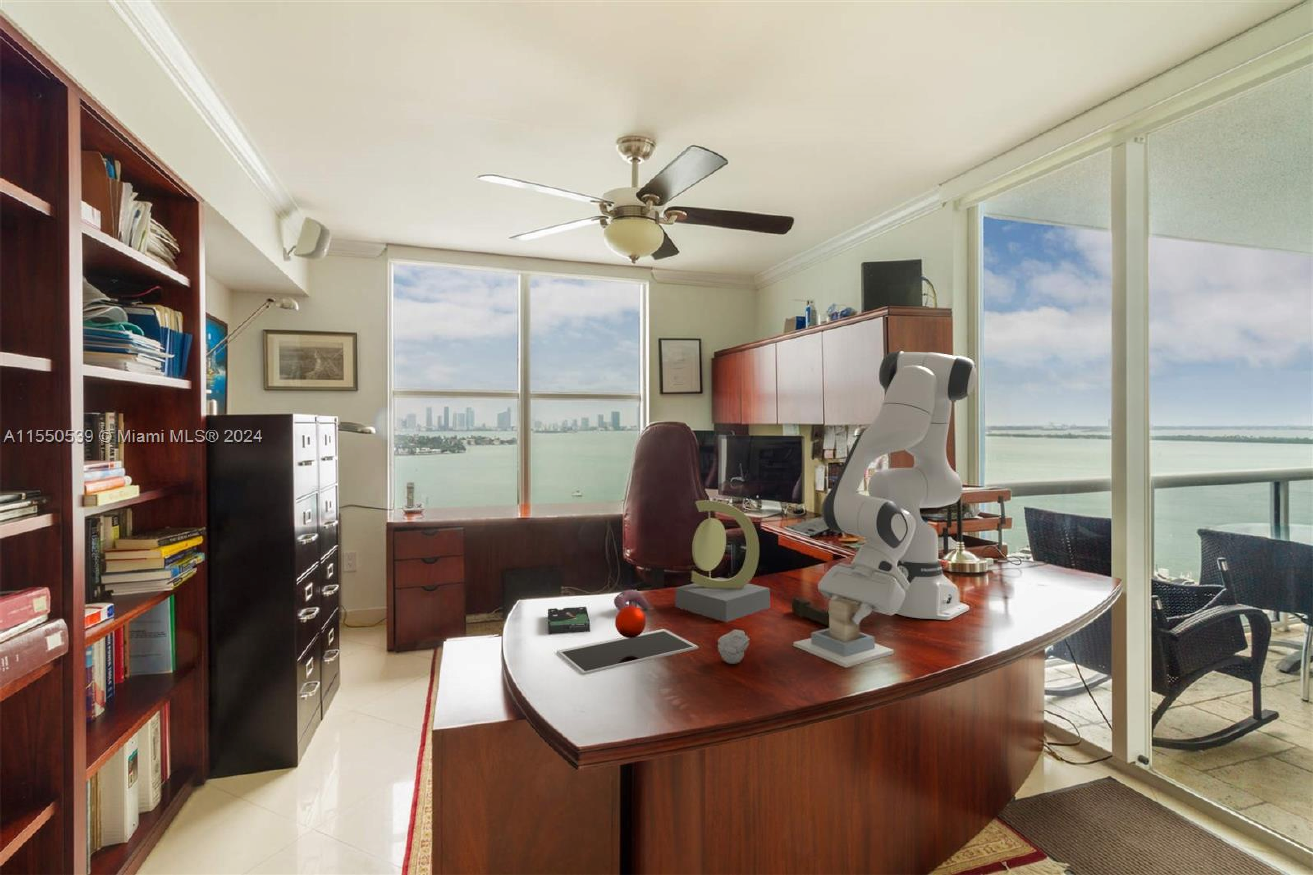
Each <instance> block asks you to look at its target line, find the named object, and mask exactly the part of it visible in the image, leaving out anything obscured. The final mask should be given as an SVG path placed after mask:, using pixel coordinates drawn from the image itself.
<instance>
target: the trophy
mask: <svg viewBox="0 0 1313 875" xmlns="http://www.w3.org/2000/svg"><path fill="white" fill-rule="evenodd" d="M695 506H696V508H697V511H698V512H699V513H702V512H708V518H707V519H704V520H703V521H702V522H700V524H699V526H698V527H697V528H696V530H695V533H694V535H693V540H692V544H691V547H692V548H691V550H692V551H691V552H692V553H691V555H692V559H693V562H694V563H695V566H696V567H697V568H698V569H700V571H707V572H708V576H705V575H703V574H700V573H698V572H696V571H694V570H692V572H691V580H690V581H691V582H692V583H690V584H686V585H682V586H678V587H675V594H674V595H675V597H674V598H675V602H674V603H675V605H674V606H675V608H676V607H678V608H677V609H679V608H680V610H683V609H685V610H684V611H686V610H688V611H687V612H689V611H691V612H690V613H693V614H697V615H700V614H701V615H700V616H704V617H707V618H711V619H713V618H714V619H713V620H717V621H721V622H723V623H724V622H725V623H728V622H731V621H734V619H735V620H737V618H738V619H741V618H744V617H746V615H747V616H749V615H748V614H750V615H753V614H756V613H758V611H759V612H761V611H760V610H762V611H764V610H763V609H765V610H768V609H771V588H769V587H767V586H766V587H765V586H761V585H757V584H751V583H750V582H751V580H752V579H753V577H754V575H755V573H756V570H757V569H758V564H759V560H760V559H759V558H760V542H759V541H760V540H759V536H758V533H757V530H756V528H755V525H754V523H753V522H752V520H751V519H750V518H749V517H748V516H747V514H745V513H744V512H743V511H741V510H740V509H739V508H737V507H735V506H733V505H731V504H728V503H725V502H722V501H717V500H706V499H705V500H697V501H695ZM711 512H718V513H723V514H724V515H725V514H726V515H727V516H729V517H731V518H733V520H735V521H736V522H737V524H738V525H739V526H740V528H741V530H742V531H743V534H744V537H745V543H746V544H745V545H746V548H745V557H744V558H745V559H744V561H743V565H742V567H741V569H740V570H739V571H738V573H737V574H736V575H734V576H733V577H731V578H724V577H715V578H712V577H711V575H712V574H711V572H712V570H714V569H715V568H717V566H719V564H720V563H721V561H722V560H723V556H724V555H725V552H726V546H727V534H726V529H725V526H724V524H723V523H722V521H720V520H719V519H718V518H714V517H711ZM755 612H756V613H755Z"/></svg>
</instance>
